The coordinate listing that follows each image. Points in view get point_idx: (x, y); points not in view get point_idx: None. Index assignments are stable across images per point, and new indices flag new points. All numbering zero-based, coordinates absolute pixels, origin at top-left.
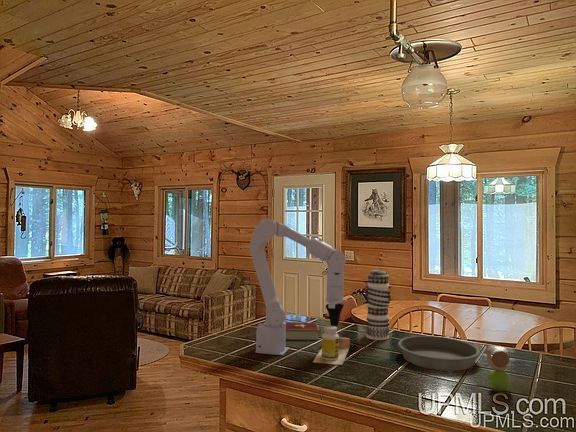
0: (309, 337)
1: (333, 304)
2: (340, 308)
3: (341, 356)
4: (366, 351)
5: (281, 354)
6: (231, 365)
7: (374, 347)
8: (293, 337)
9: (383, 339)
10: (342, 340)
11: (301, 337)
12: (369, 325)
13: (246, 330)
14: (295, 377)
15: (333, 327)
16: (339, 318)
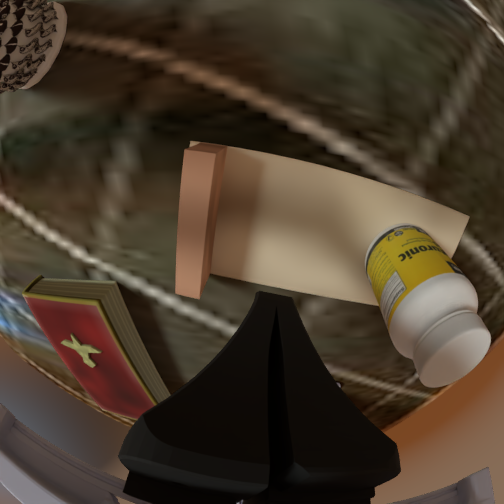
0: (124, 315)
1: (486, 500)
2: (399, 459)
3: (379, 203)
4: (263, 54)
5: (340, 387)
6: (385, 428)
7: (179, 17)
8: (145, 357)
9: (64, 11)
10: (211, 194)
11: (135, 337)
12: (1, 73)
13: None
14: (491, 335)
15: (470, 347)
16: (244, 326)
